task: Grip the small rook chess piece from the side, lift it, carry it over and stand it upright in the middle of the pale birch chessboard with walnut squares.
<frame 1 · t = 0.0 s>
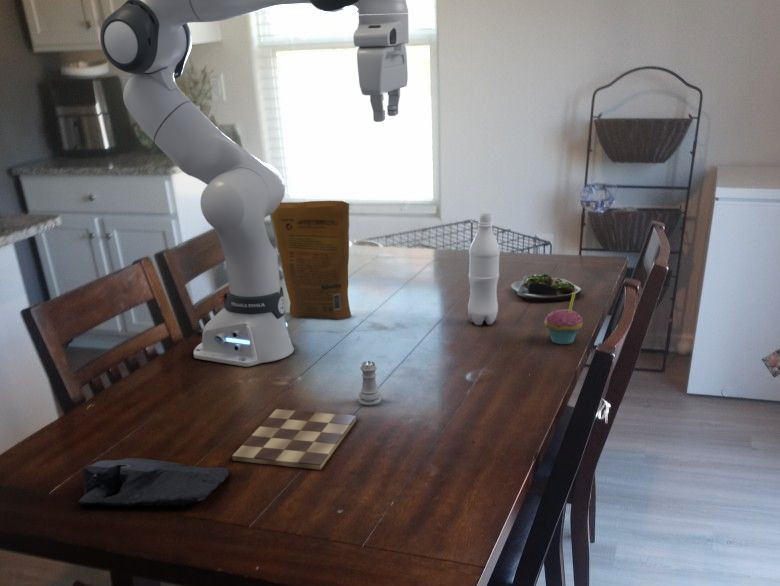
hand: (386, 118, 158), 48 cm above the table, tool pointing down, fingers open, 8 cm apart
cupcake: (562, 341, 191), on the table
rook chess piece: (370, 402, 164), on the table
salad plate: (544, 294, 222), on the table
pancake mix bag: (319, 317, 211), on the table
chessboard: (297, 440, 150), on the table
dark slate chunk: (156, 490, 136), on the table
water bottle: (482, 323, 204), on the table
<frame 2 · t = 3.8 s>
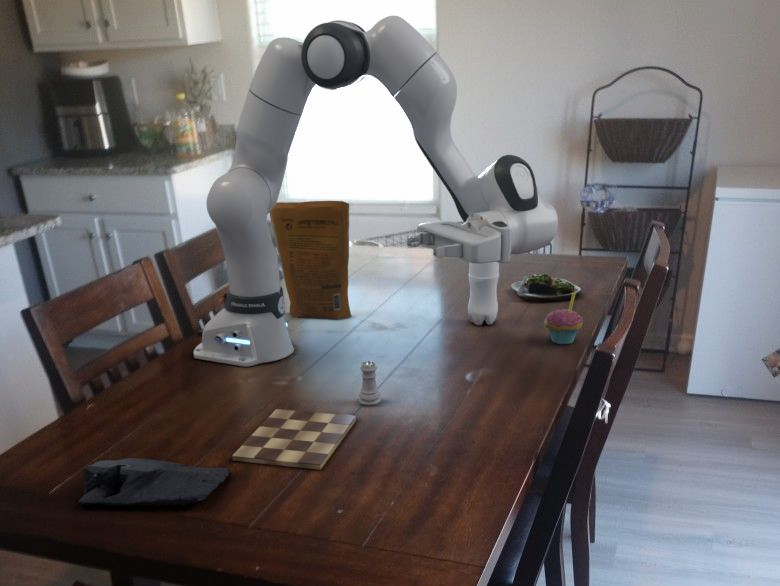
hand: (421, 247, 155), 28 cm above the table, tool horizontal, fingers open, 8 cm apart
nothing on the table moved.
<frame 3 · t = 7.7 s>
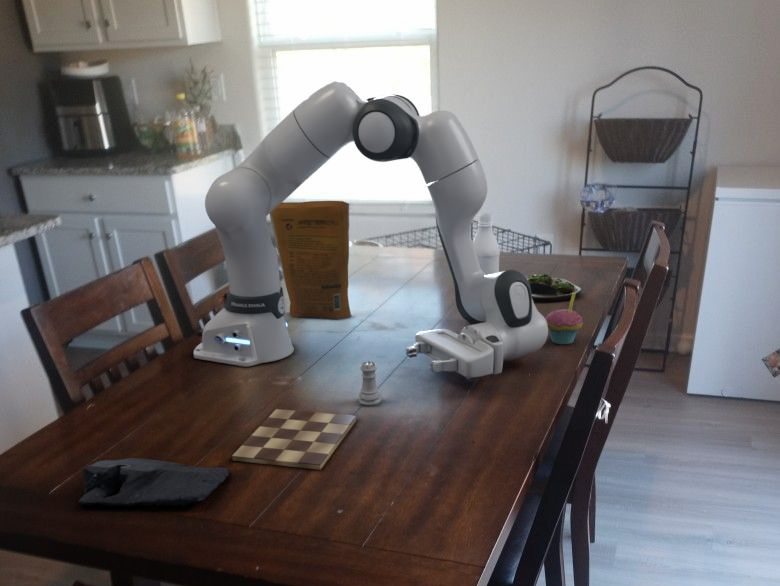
hand: (419, 359, 165), 6 cm above the table, tool horizontal, fingers open, 8 cm apart
nothing on the table moved.
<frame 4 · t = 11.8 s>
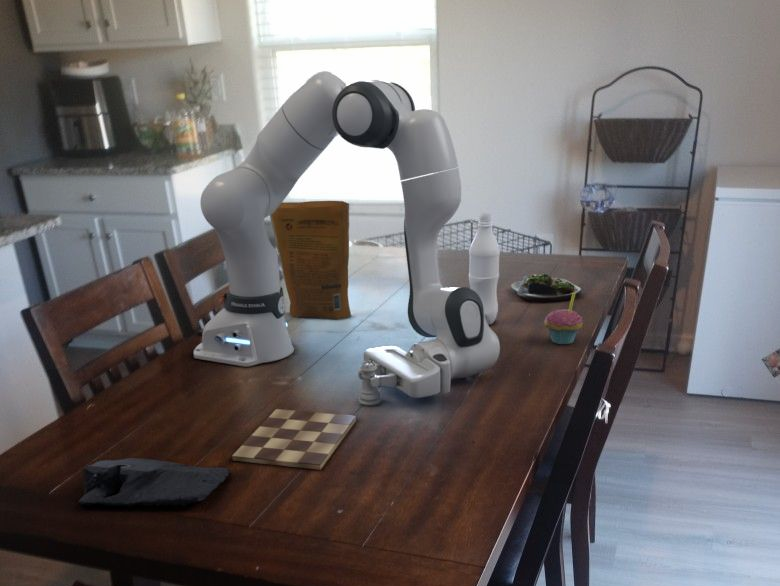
hand: (364, 378, 161), 5 cm above the table, tool horizontal, fingers closed on rook chess piece, 3 cm apart
rook chess piece: (370, 402, 164), on the table, touching gripper
everything else where it was.
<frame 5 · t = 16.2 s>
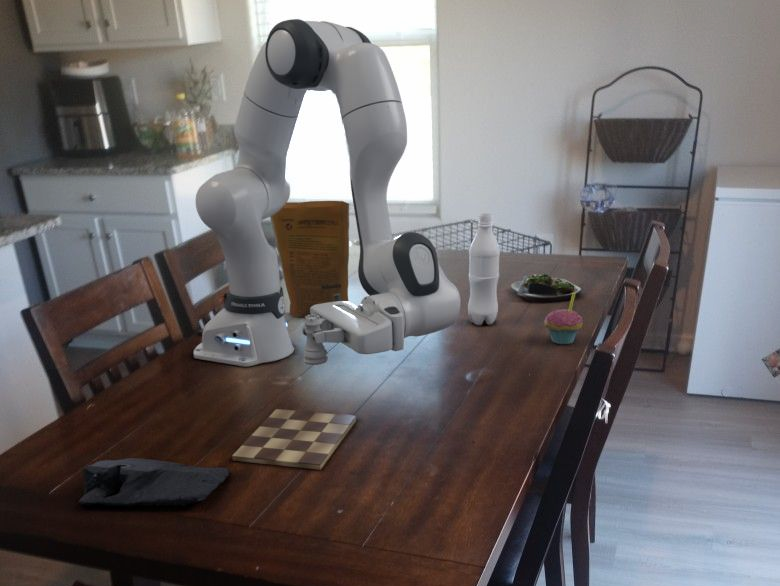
hand: (308, 334, 145), 18 cm above the table, tool horizontal, fingers closed on rook chess piece, 3 cm apart
rook chess piece: (316, 362, 148), point 13 cm above the table, touching gripper
everything else where it was.
when the fingers open (6 cm above the table, at t = 20.6 s): rook chess piece stays where it is, resting on chessboard.
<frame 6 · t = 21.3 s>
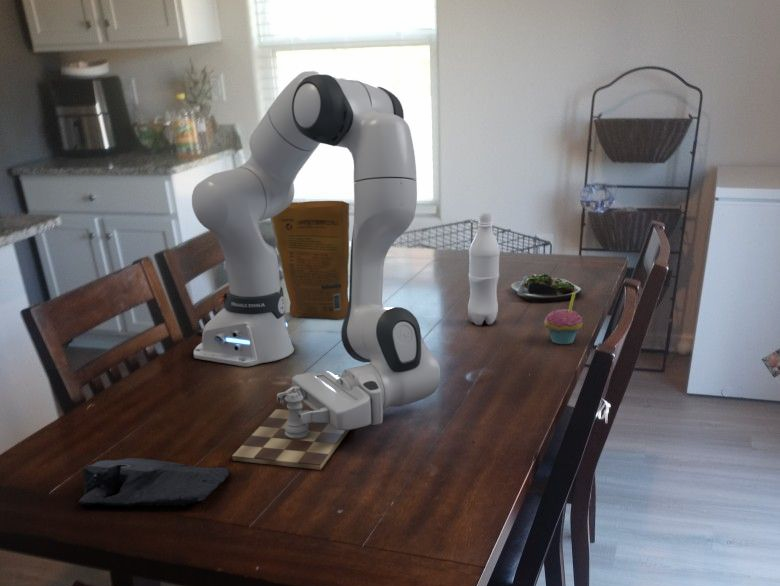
hand: (289, 408, 147), 6 cm above the table, tool horizontal, fingers open, 8 cm apart
rook chess piece: (297, 435, 150), point 1 cm above the table, touching chessboard
everything else where it was.
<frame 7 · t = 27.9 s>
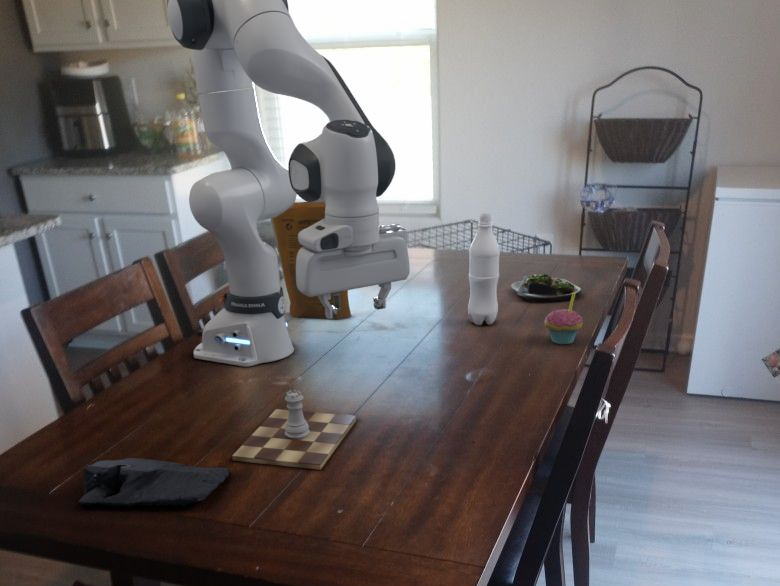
hand: (355, 313, 145), 21 cm above the table, tool pointing down, fingers open, 8 cm apart
nothing on the table moved.
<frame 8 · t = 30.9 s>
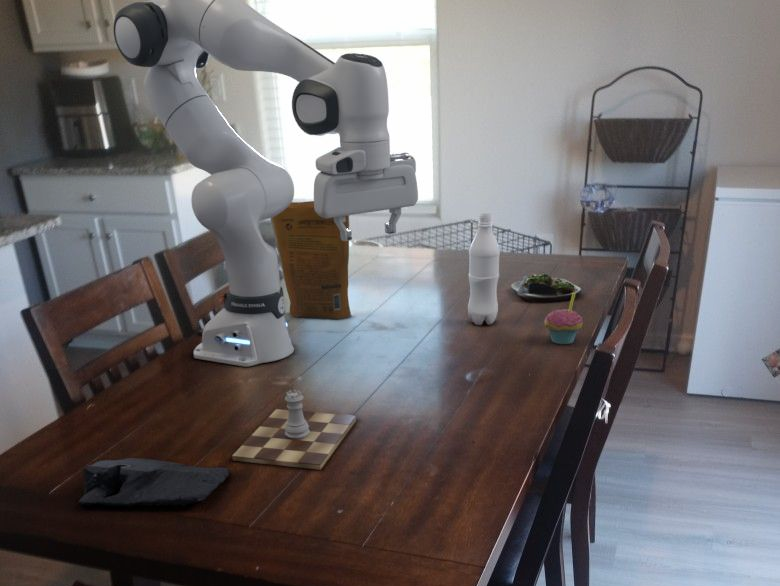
hand: (368, 236, 158), 29 cm above the table, tool pointing down, fingers open, 8 cm apart
nothing on the table moved.
at the end: rook chess piece inside the target area on the chessboard (0.2 cm from its centre), point 0.9 cm above the chessboard's base; rook chess piece tilted 0°; the gripper is holding nothing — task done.
